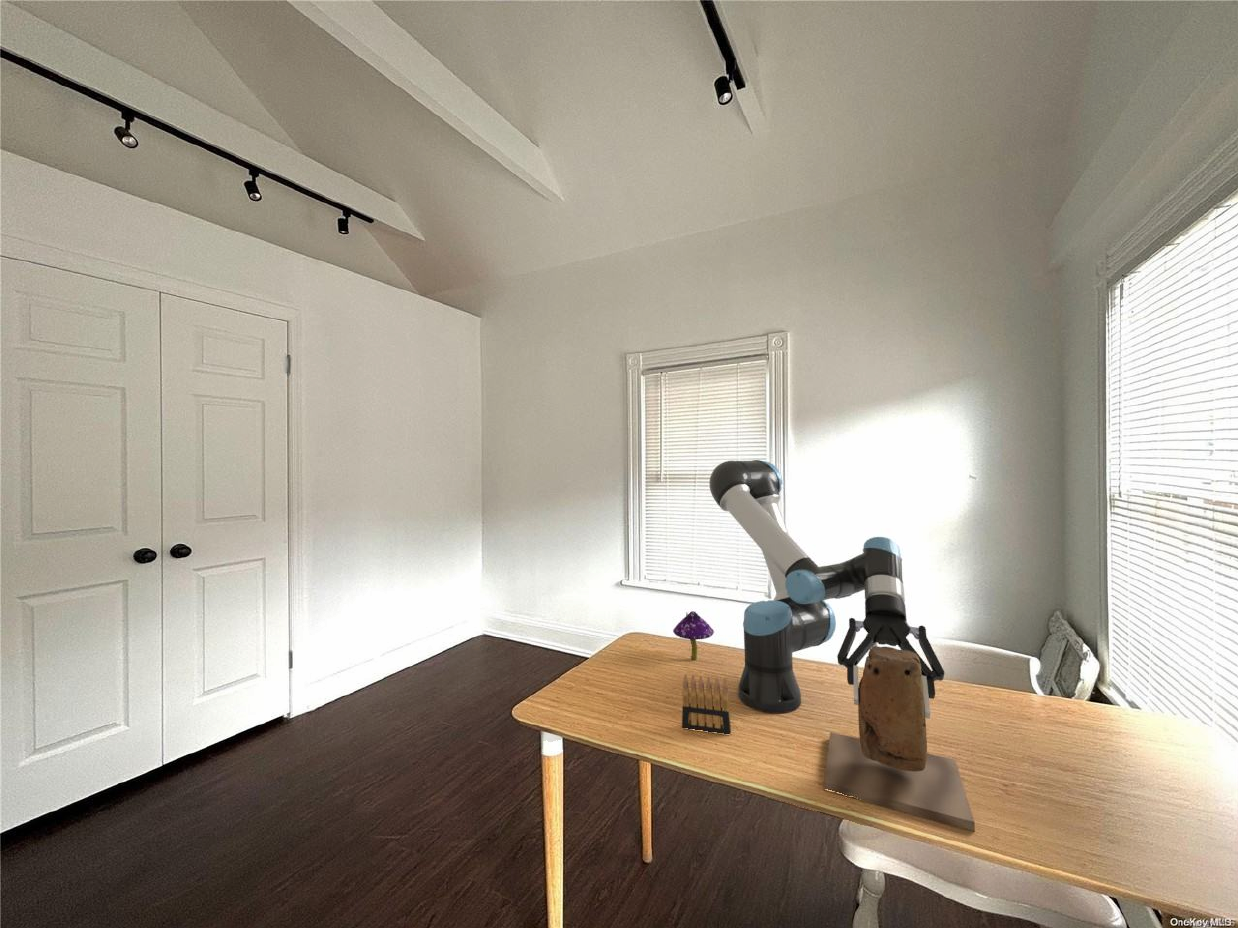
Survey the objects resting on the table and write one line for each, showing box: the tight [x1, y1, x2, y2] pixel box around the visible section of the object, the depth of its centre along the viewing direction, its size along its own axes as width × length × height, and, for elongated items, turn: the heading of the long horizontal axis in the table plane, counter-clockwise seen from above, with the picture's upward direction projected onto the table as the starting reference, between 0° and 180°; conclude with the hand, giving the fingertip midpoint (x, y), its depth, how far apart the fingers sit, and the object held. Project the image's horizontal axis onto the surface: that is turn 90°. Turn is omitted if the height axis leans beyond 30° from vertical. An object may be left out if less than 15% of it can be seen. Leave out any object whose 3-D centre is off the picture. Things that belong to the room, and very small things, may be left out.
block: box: [857, 645, 928, 772], centre depth 88 cm, size 11×8×20 cm
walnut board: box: [823, 732, 976, 832], centre depth 87 cm, size 22×18×2 cm
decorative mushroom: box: [672, 610, 715, 661], centre depth 144 cm, size 12×12×15 cm
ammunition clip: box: [681, 673, 732, 734], centre depth 105 cm, size 11×2×12 cm, turn 73°
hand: (890, 708), depth 86 cm, fingers closed on block, 11 cm apart
